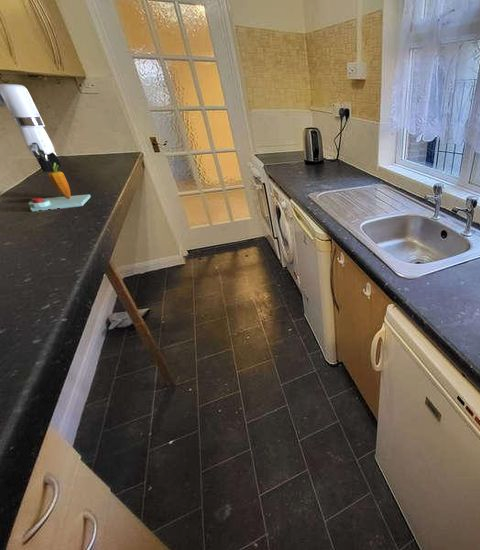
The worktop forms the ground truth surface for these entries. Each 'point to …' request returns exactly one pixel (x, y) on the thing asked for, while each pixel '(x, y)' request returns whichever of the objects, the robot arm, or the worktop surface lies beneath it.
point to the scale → (59, 202)
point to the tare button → (37, 200)
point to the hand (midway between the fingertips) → (53, 169)
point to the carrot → (60, 182)
